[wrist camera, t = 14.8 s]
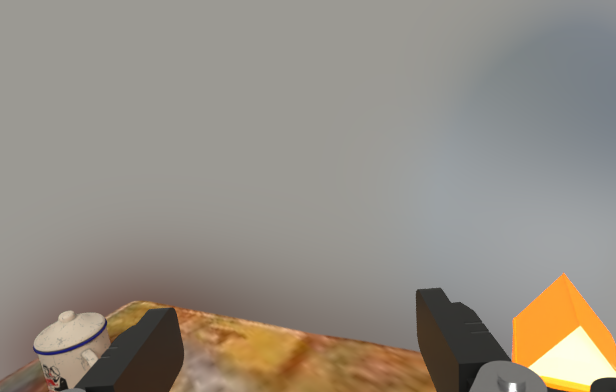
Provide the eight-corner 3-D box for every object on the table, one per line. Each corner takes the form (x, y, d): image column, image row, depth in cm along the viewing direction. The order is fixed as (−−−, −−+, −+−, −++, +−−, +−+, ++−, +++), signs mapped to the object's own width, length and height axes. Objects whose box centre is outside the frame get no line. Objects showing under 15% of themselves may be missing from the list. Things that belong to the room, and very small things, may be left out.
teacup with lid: (40, 389, 54) (18, 320, 52) (104, 355, 61) (87, 291, 58) (71, 427, 47) (46, 349, 44) (139, 383, 54) (122, 312, 51)
